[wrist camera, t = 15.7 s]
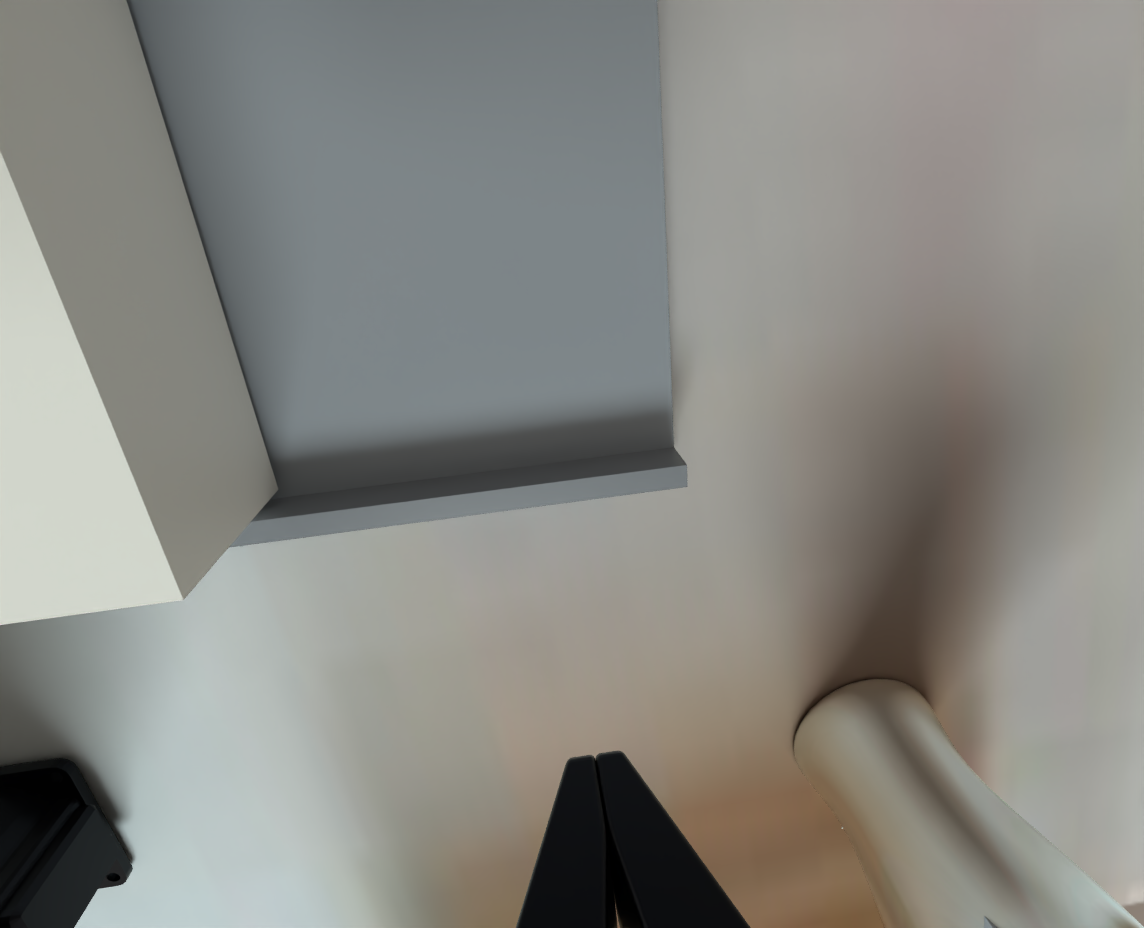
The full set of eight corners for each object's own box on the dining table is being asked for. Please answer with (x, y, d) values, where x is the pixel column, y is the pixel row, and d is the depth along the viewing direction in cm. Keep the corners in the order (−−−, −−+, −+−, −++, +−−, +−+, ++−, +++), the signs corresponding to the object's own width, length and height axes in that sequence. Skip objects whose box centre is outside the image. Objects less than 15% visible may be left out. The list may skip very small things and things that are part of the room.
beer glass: (824, 655, 24) (1238, 1225, 11) (967, 683, 26) (1504, 1223, 12) (757, 781, 27) (1026, 1385, 13) (892, 801, 28) (1267, 1368, 14)
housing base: (-6, 558, 20) (-98, 618, 17) (-337, -64, 13) (-574, -143, 11) (666, 470, 21) (692, 512, 18) (640, -138, 15) (673, -230, 12)
